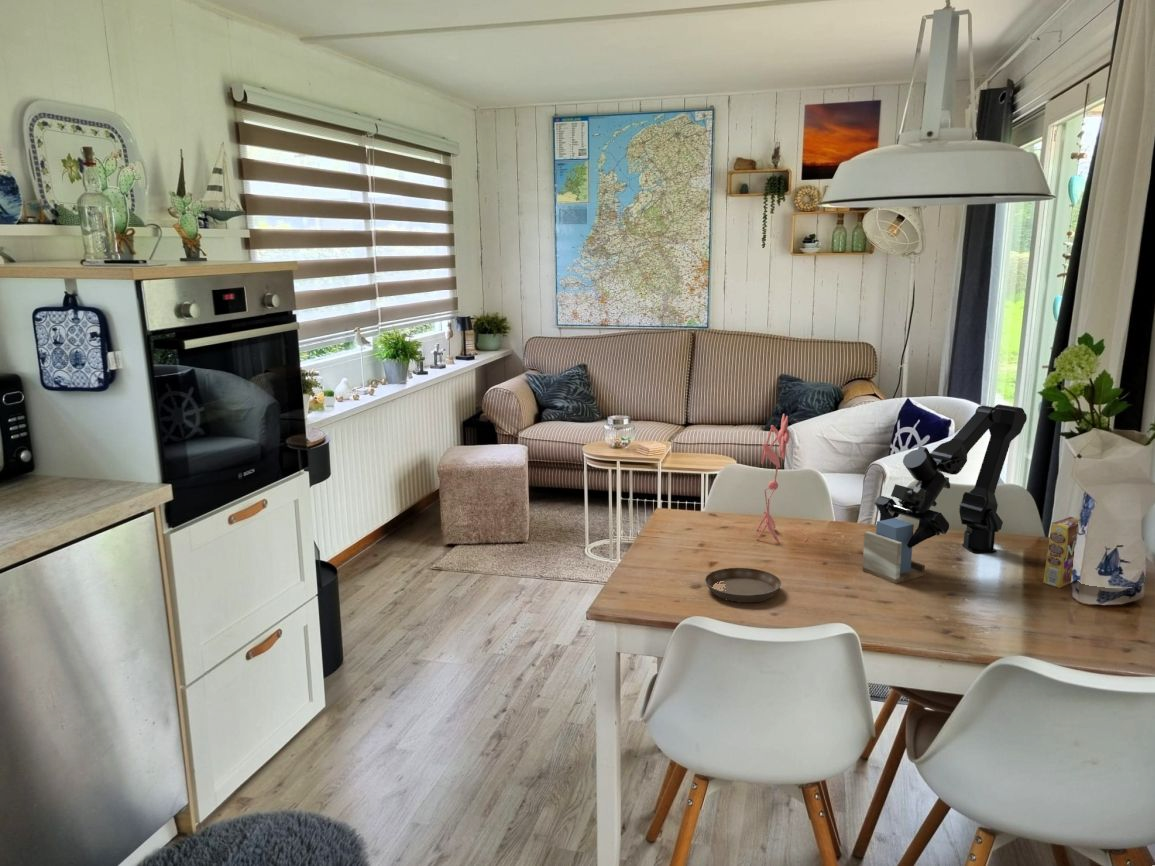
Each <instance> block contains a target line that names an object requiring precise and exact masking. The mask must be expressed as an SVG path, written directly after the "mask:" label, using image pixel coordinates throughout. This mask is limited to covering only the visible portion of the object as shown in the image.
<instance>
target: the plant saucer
mask: <svg viewBox="0 0 1155 866" xmlns="http://www.w3.org/2000/svg"><path fill="white" fill-rule="evenodd" d="M720 581H724V582H721V583H720V584H726V585H725V587H726V588H724V587H723V589H724V590H723V591H719V590H717V589H714V588H712V587H713V585H714V584H715V583H717V582H718V583H717V584H719V582H720ZM704 583H705V584H706V586H707V588H708V589H709V590H710V591H711V592H712V594H714V595H715V596H716V595H717V596H716V597H718V596H719V597H718V598H720V597H721V598H720V599H722V598H724V599H723V600H725V599H727V600H726V601H728V600H731V601H730V602H733V601H737V602H736V603H741V602H752V603H759V602H765V601H767V600H769V599H770V598H772V597H773V596H774V595H775V594H776V593H777V592H778V591H779V589H780V587H781V586H782V581H781V579H780V578H779V577H778V576H777V575H775V574H773V573H771V572H769V571H766V570H761V569H756V568H751V567H750V568H749V567H727V568H721V569H717V570H714V571H711V572H709V573H708V574H706V575H705V578H704ZM720 589H721V588H720ZM725 590H726V591H725Z"/></svg>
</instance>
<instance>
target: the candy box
mask: <svg viewBox="0 0 1155 866" xmlns="http://www.w3.org/2000/svg"><path fill="white" fill-rule="evenodd" d="M1079 519H1080V518H1078V517H1073V516H1069V517H1066V518H1064V519H1063V518H1062V519H1061V520H1058V521H1055V522H1051V523H1050V532H1049V539H1048V540H1049V541H1048V546H1047V555H1046V562H1045V569H1044V575H1043V584H1045V585H1049V586H1052V587H1054V588H1058V589H1060V588H1063V587H1066V586H1068V585H1070V584H1071V583H1070V581H1071V574H1072V568H1073V558H1074V548H1075V540H1076V535H1077V529H1078V521H1079Z"/></svg>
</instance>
